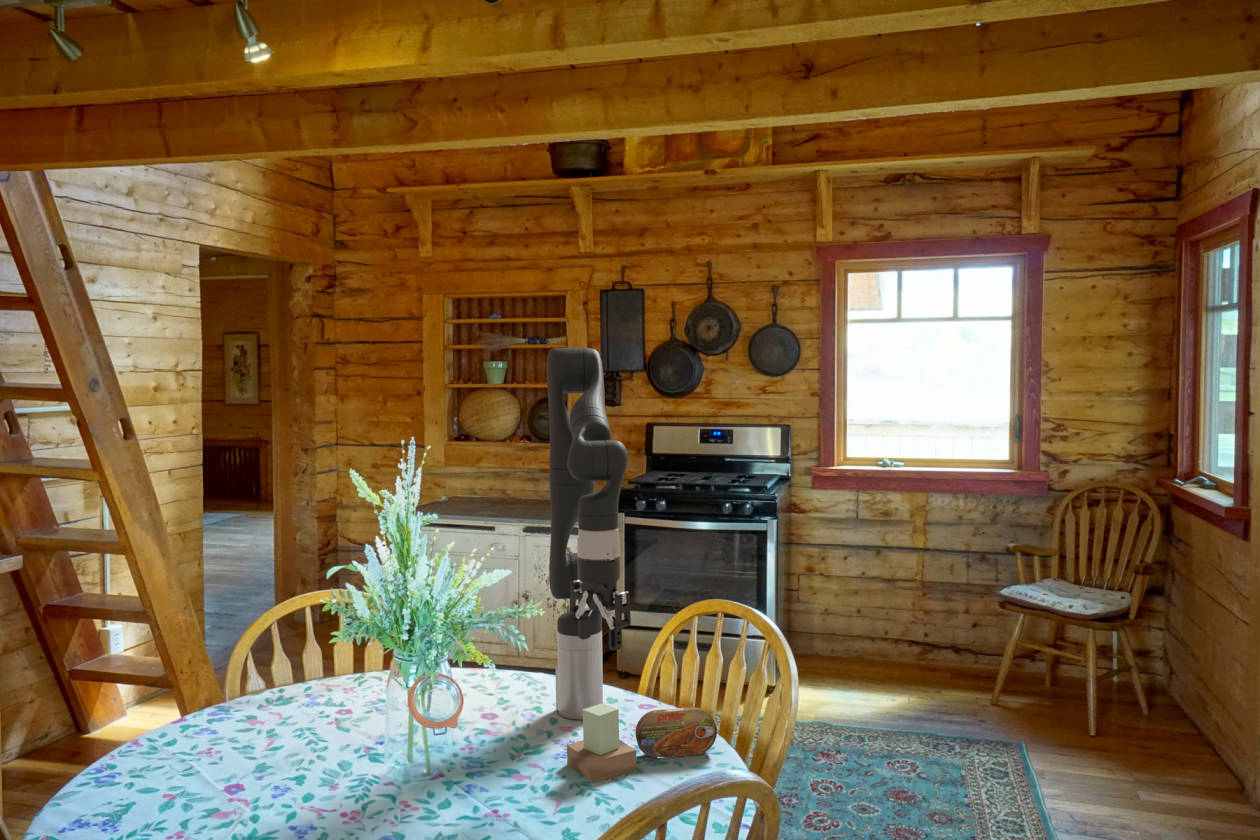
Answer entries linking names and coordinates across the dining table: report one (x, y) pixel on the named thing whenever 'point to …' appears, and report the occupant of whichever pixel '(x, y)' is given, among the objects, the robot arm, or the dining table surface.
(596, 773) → the walnut base
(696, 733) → the tin
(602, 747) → the sage block
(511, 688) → the dining table surface
